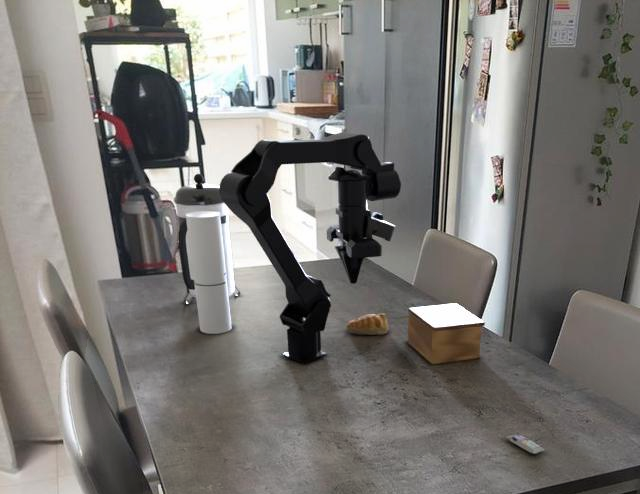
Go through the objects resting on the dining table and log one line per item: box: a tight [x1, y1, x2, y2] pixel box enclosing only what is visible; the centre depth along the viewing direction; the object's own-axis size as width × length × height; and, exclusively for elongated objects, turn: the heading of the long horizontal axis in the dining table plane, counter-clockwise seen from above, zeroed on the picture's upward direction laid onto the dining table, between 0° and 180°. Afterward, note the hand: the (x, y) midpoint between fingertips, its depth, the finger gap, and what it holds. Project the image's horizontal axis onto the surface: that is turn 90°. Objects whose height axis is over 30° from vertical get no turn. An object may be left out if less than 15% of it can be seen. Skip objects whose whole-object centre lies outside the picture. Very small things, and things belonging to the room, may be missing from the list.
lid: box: [407, 303, 486, 331], centre depth 145 cm, size 11×14×1 cm
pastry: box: [345, 312, 389, 336], centre depth 158 cm, size 9×7×4 cm
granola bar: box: [506, 433, 545, 455], centre depth 111 cm, size 7×2×1 cm, turn 31°
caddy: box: [407, 312, 483, 365], centre depth 146 cm, size 11×14×7 cm
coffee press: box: [173, 173, 241, 305], centre depth 171 cm, size 17×16×30 cm
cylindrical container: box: [186, 211, 232, 335], centre depth 154 cm, size 7×7×25 cm
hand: (353, 283), depth 145 cm, fingers closed
